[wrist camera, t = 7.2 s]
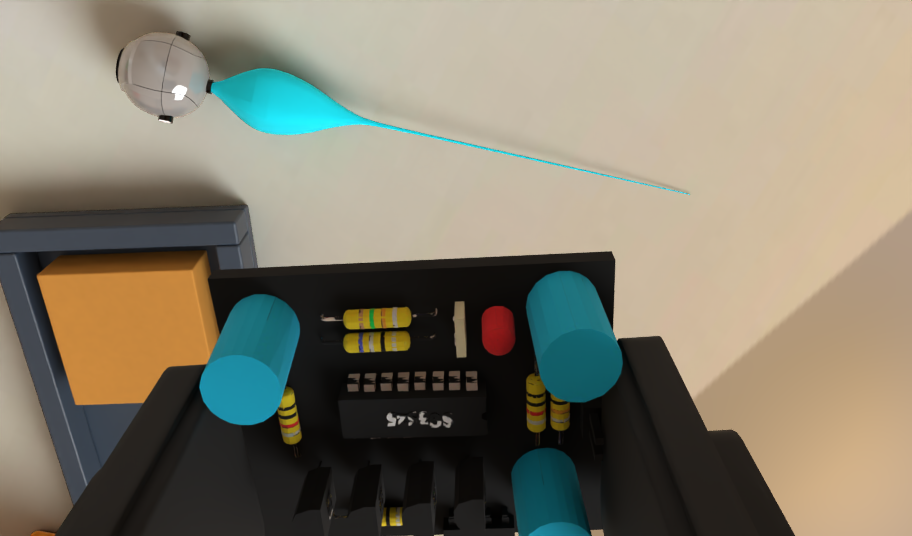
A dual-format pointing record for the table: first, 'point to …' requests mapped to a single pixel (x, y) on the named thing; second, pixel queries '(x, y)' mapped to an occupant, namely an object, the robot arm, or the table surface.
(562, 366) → the circuit board
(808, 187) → the table surface
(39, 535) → the supplement box
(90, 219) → the backing tray
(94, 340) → the rubber pad
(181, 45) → the fishing lure
